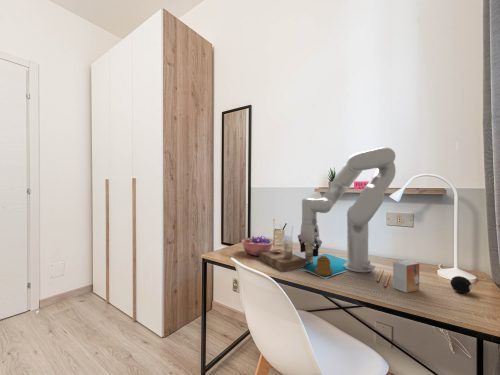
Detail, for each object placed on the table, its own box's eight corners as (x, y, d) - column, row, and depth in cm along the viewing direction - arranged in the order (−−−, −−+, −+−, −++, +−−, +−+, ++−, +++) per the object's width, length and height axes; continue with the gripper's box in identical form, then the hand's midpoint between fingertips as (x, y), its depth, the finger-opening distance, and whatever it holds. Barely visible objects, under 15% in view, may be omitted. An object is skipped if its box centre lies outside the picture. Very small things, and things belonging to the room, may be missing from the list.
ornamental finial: (335, 275, 110) (320, 277, 108) (326, 270, 117) (312, 271, 115) (335, 258, 110) (320, 259, 108) (326, 253, 117) (312, 254, 115)
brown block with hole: (305, 266, 121) (305, 243, 121) (283, 271, 115) (283, 246, 115) (279, 255, 141) (279, 235, 141) (259, 259, 134) (259, 237, 134)
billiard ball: (455, 288, 96) (455, 273, 96) (474, 293, 91) (474, 278, 91) (447, 291, 94) (447, 275, 94) (467, 297, 88) (467, 280, 88)
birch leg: (314, 263, 127) (314, 240, 127) (308, 264, 125) (308, 241, 125) (309, 261, 131) (309, 239, 131) (303, 262, 129) (303, 239, 129)
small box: (406, 293, 91) (406, 265, 91) (392, 287, 97) (392, 261, 97) (419, 289, 95) (419, 263, 95) (405, 284, 100) (405, 259, 100)
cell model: (251, 249, 156) (251, 231, 156) (278, 254, 145) (278, 235, 145) (234, 255, 143) (235, 235, 142) (263, 261, 131) (263, 240, 131)
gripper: (326, 223, 122) (326, 257, 122) (303, 219, 137) (303, 249, 137) (315, 224, 118) (315, 259, 118) (293, 220, 134) (293, 251, 134)
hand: (309, 254), depth 128 cm, fingers open, 9 cm apart
